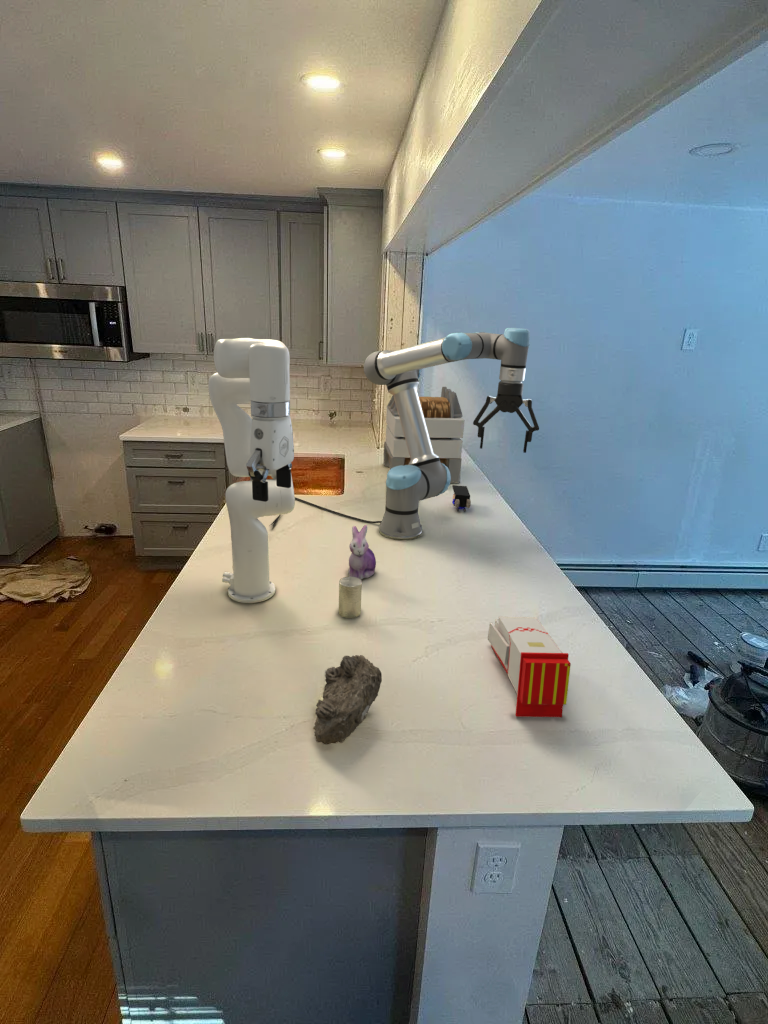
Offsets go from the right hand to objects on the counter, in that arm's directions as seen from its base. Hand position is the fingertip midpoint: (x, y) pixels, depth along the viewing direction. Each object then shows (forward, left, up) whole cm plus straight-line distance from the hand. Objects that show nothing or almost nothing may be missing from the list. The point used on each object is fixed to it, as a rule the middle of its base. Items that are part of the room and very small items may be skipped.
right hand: (502, 449), depth 180 cm
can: (+6, -64, -34) cm, 73 cm away
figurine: (-10, -48, -34) cm, 59 cm away
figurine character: (-34, +22, -34) cm, 53 cm away
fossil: (+36, -88, -34) cm, 101 cm away
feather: (-65, -43, -34) cm, 85 cm away
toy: (+50, -51, -34) cm, 79 cm away
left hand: (+10, -89, +4) cm, 89 cm away
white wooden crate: (-80, +44, -34) cm, 97 cm away
